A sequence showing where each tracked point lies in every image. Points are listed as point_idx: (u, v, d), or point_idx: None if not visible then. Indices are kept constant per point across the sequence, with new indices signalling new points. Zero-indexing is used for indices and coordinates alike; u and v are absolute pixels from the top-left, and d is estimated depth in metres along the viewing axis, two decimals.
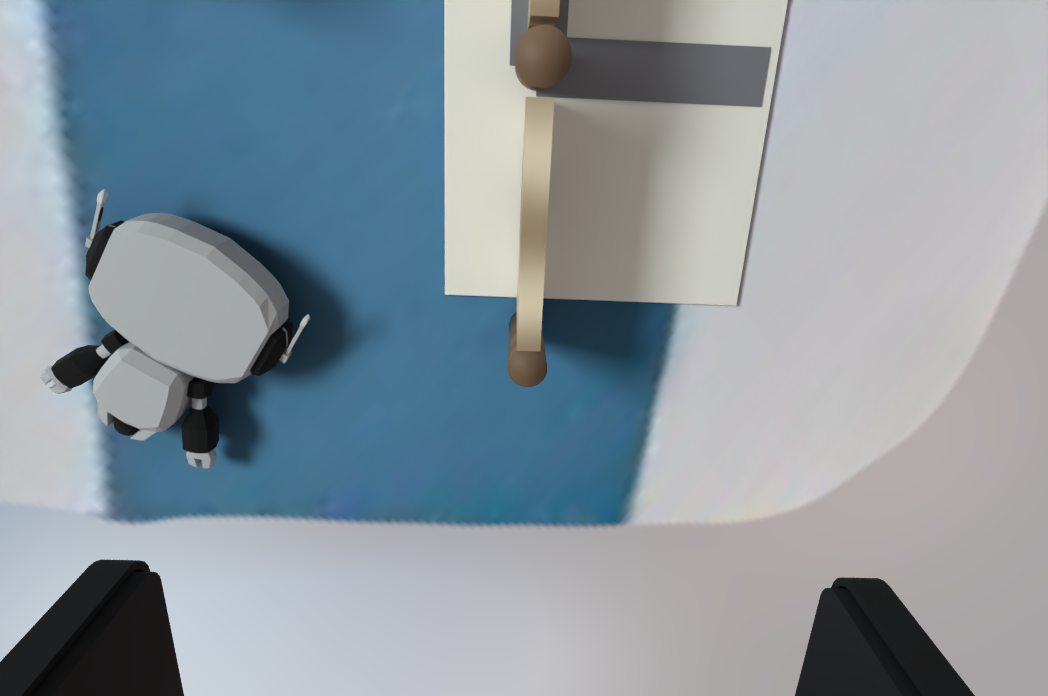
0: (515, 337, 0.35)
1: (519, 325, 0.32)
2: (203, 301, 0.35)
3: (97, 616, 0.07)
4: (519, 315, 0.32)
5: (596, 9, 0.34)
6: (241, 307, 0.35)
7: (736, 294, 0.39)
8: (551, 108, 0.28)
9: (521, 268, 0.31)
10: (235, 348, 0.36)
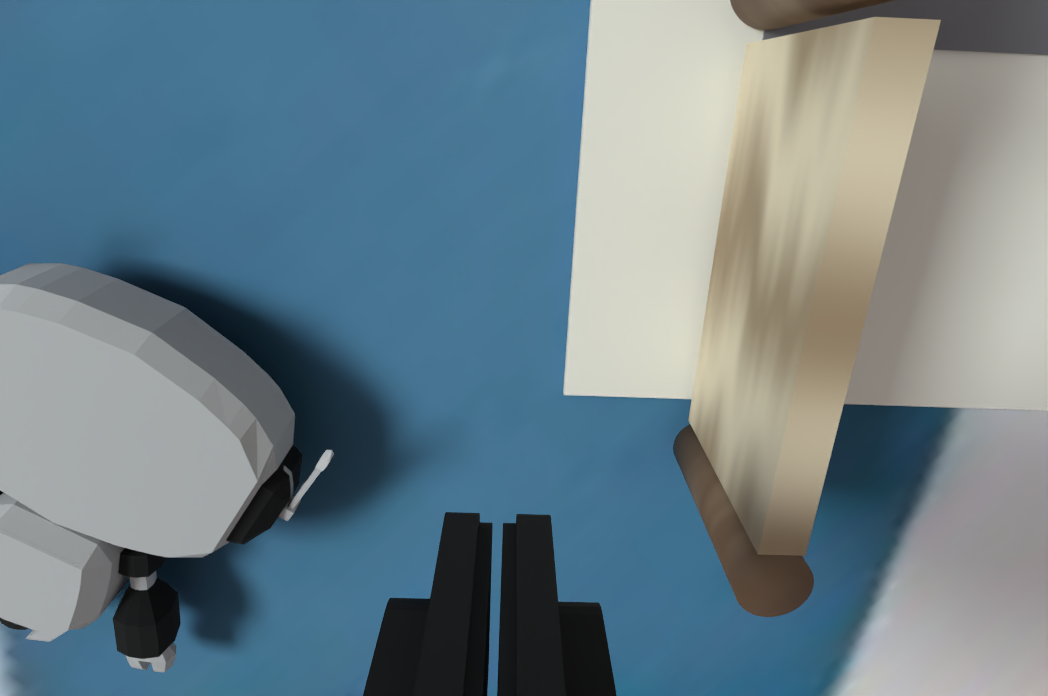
0: (723, 500, 0.18)
1: (771, 509, 0.15)
2: (134, 430, 0.19)
3: (478, 555, 0.09)
4: (774, 491, 0.15)
5: None
6: (206, 440, 0.19)
7: None
8: (929, 45, 0.12)
9: (794, 401, 0.14)
10: (197, 508, 0.20)
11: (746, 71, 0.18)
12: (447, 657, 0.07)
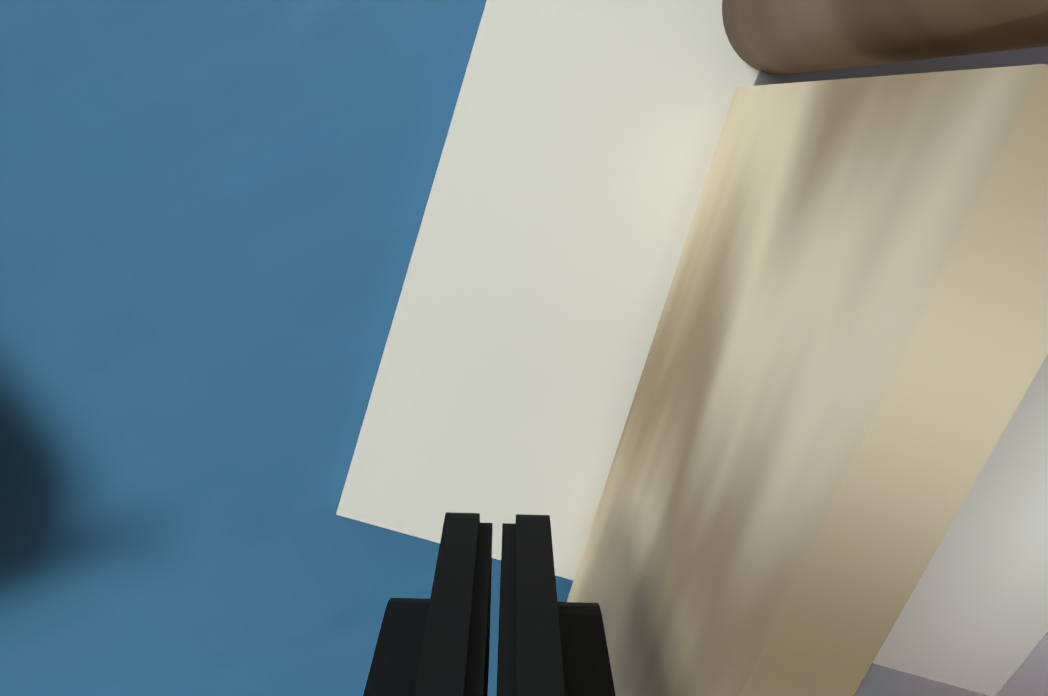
0: None
1: None
2: None
3: (478, 555, 0.09)
4: None
5: None
6: None
7: (1006, 677, 0.17)
8: None
9: None
10: None
11: (728, 130, 0.11)
12: (448, 657, 0.07)
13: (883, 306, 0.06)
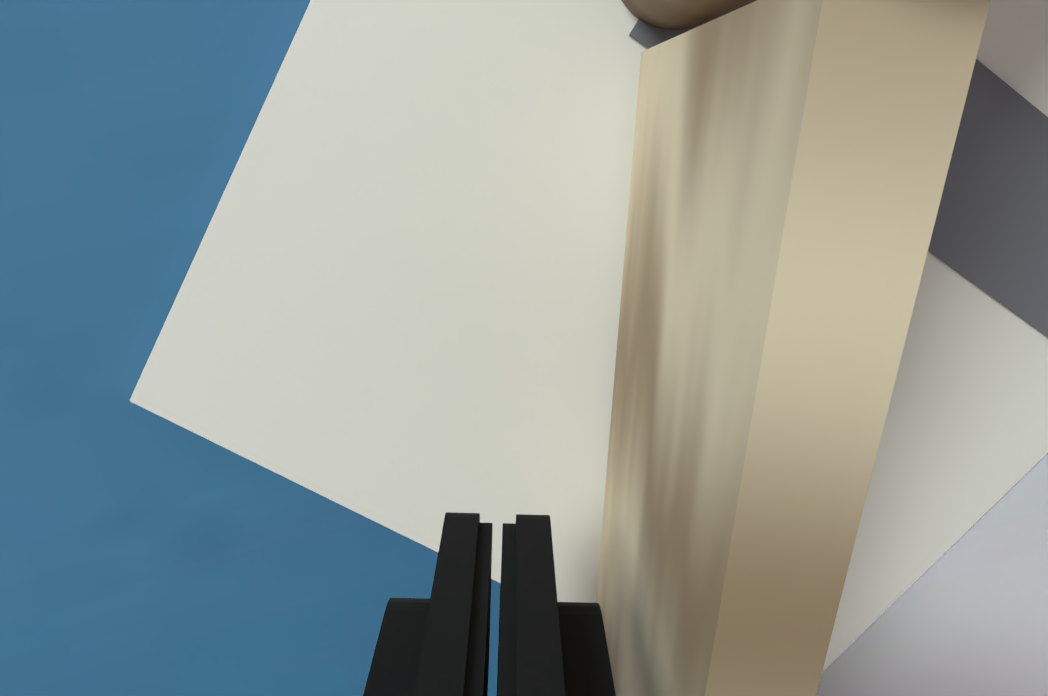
0: None
1: None
2: None
3: (478, 555, 0.09)
4: None
5: None
6: None
7: None
8: (969, 41, 0.05)
9: None
10: None
11: (641, 97, 0.11)
12: (447, 657, 0.07)
13: (755, 247, 0.06)
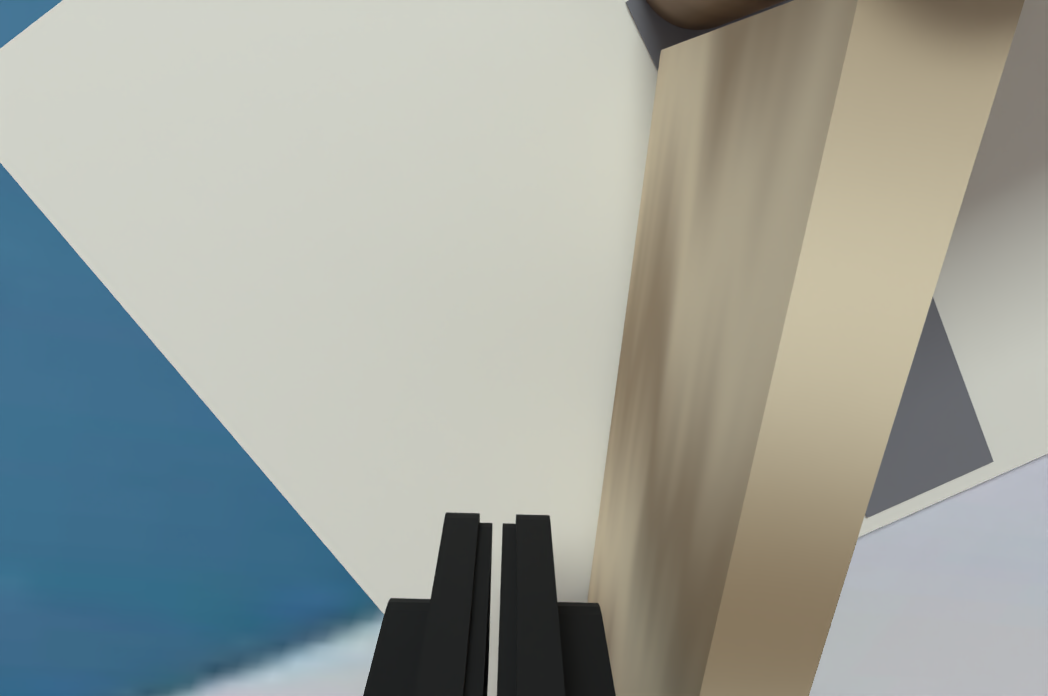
0: None
1: None
2: None
3: (478, 555, 0.09)
4: None
5: None
6: None
7: None
8: (997, 52, 0.05)
9: None
10: None
11: (659, 95, 0.11)
12: (448, 657, 0.07)
13: (774, 245, 0.06)
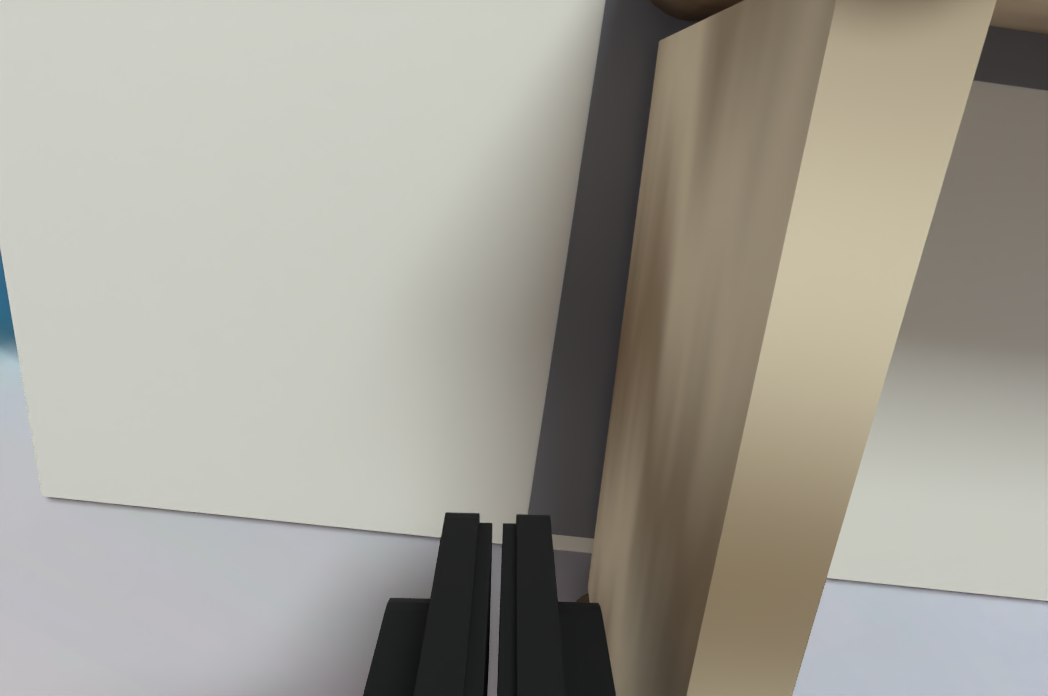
0: None
1: None
2: None
3: (478, 555, 0.09)
4: None
5: None
6: None
7: (71, 495, 0.15)
8: (976, 27, 0.05)
9: None
10: None
11: (657, 85, 0.11)
12: (448, 657, 0.07)
13: (763, 221, 0.06)
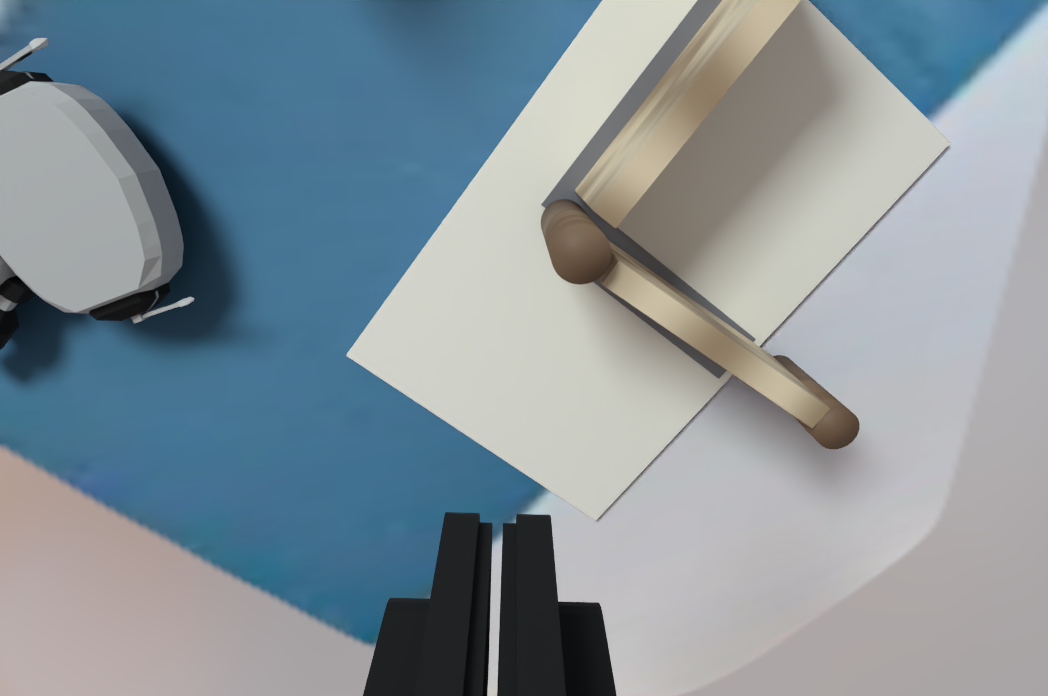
0: None
1: (791, 411, 0.29)
2: (84, 217, 0.29)
3: (478, 555, 0.09)
4: (782, 406, 0.29)
5: (643, 212, 0.33)
6: (124, 249, 0.29)
7: (601, 512, 0.39)
8: (625, 268, 0.26)
9: (742, 379, 0.28)
10: (88, 282, 0.30)
11: None
12: (447, 657, 0.07)
13: None
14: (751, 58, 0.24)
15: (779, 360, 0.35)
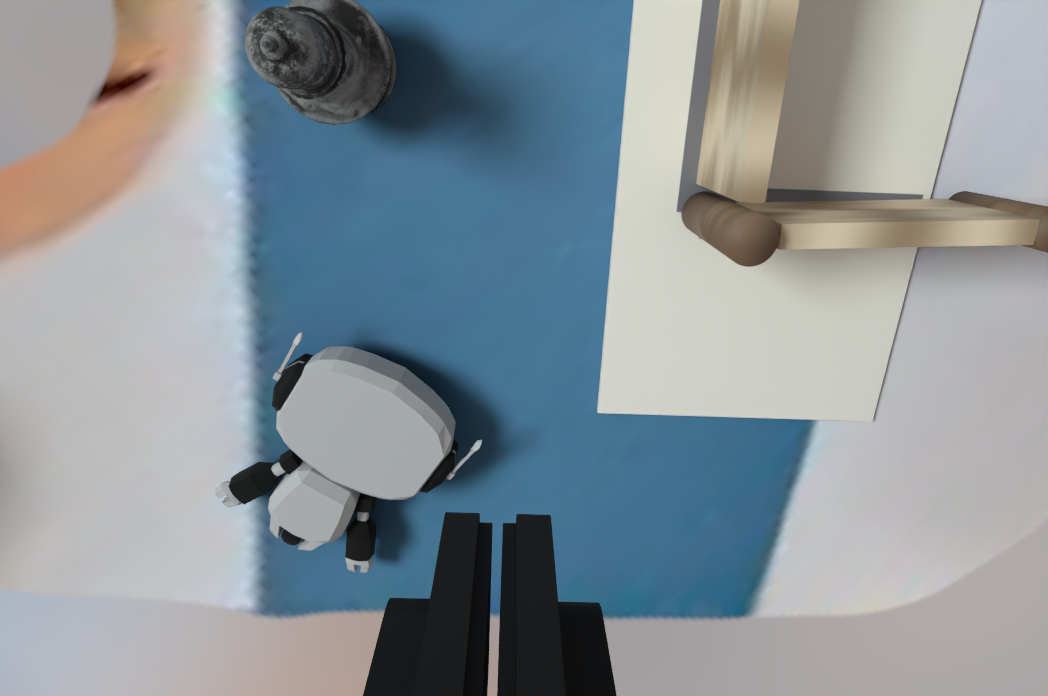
0: None
1: (1005, 243, 0.30)
2: (385, 430, 0.37)
3: (478, 555, 0.09)
4: (993, 244, 0.30)
5: None
6: (421, 435, 0.37)
7: (873, 411, 0.41)
8: (791, 226, 0.30)
9: (943, 245, 0.30)
10: (410, 471, 0.38)
11: None
12: (448, 657, 0.07)
13: None
14: (796, 9, 0.26)
15: (957, 199, 0.36)
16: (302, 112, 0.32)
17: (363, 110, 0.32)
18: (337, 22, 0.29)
